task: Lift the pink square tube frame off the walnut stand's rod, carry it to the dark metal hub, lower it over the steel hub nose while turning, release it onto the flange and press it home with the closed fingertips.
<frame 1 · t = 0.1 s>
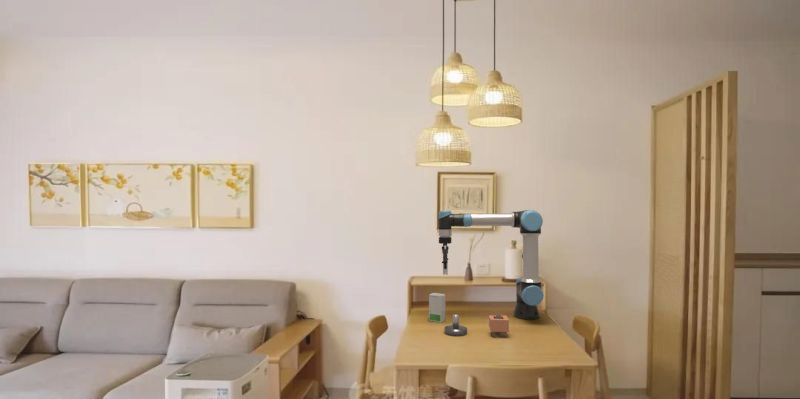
hand: (445, 272, 248), 28 cm above the table, fingers open, 13 cm apart
pink square tube frame: (498, 329, 219), point 3 cm above the table, touching stand
stand: (498, 335, 219), on the table
skincare box: (437, 321, 248), on the table
hub: (455, 332, 223), on the table
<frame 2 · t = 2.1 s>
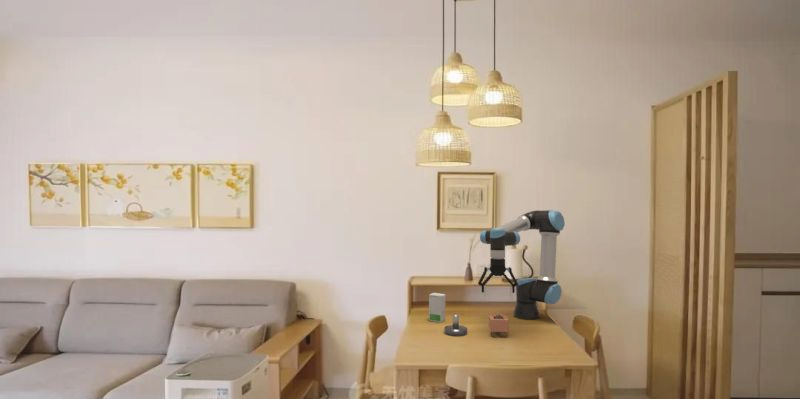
hand: (498, 299, 219), 19 cm above the table, fingers open, 13 cm apart
nothing on the table moved.
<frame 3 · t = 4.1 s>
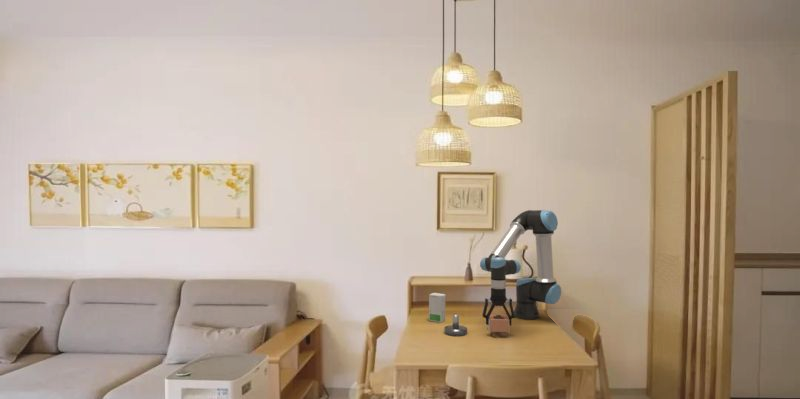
hand: (498, 331, 219), 2 cm above the table, fingers closed on pink square tube frame, 9 cm apart
pink square tube frame: (498, 329, 219), point 3 cm above the table, touching gripper, stand
everything else where it was.
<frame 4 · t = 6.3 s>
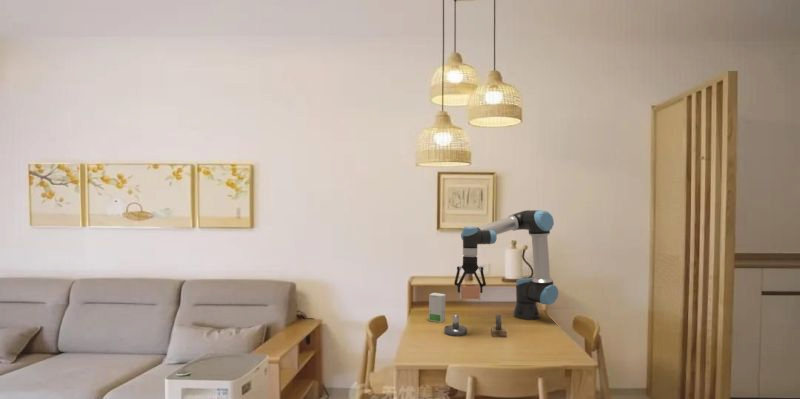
hand: (469, 299, 221), 18 cm above the table, fingers closed on pink square tube frame, 9 cm apart
pink square tube frame: (470, 297, 221), point 19 cm above the table, touching gripper
everything else where it was.
when the fingers open (4 cm above the table, at t = 8.9 s): pink square tube frame drops 2 cm, resting on hub.
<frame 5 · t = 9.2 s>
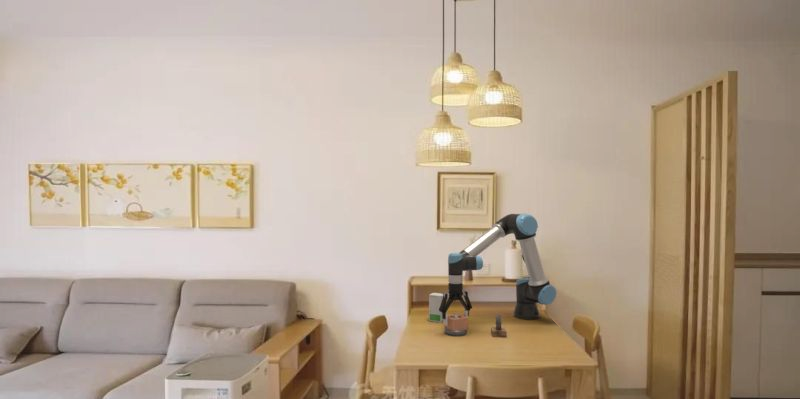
hand: (455, 323, 223), 5 cm above the table, fingers open, 12 cm apart
pink square tube frame: (456, 328, 223), point 2 cm above the table, touching hub
everything else where it was.
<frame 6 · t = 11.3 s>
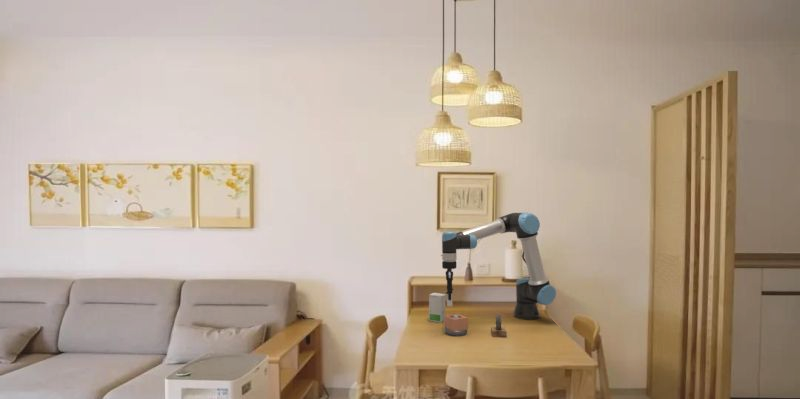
hand: (449, 304, 223), 15 cm above the table, fingers open, 6 cm apart
nothing on the table moved.
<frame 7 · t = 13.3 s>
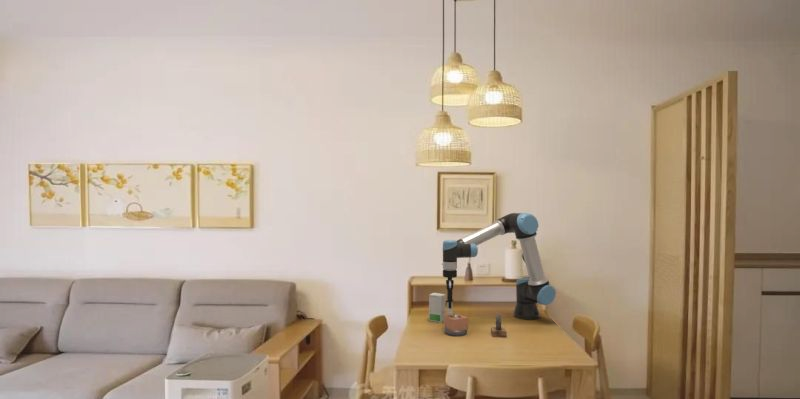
hand: (449, 313, 224), 10 cm above the table, fingers closed
nothing on the table moved.
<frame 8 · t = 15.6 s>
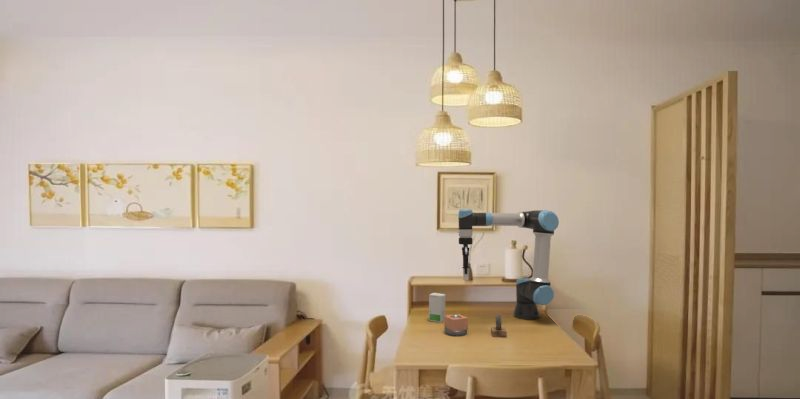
hand: (465, 279, 233), 26 cm above the table, fingers closed
nothing on the table moved.
at the end: pink square tube frame 0.1 cm off-centre on the hub, point 2.5 cm above the hub's base; the gripper is holding nothing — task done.
